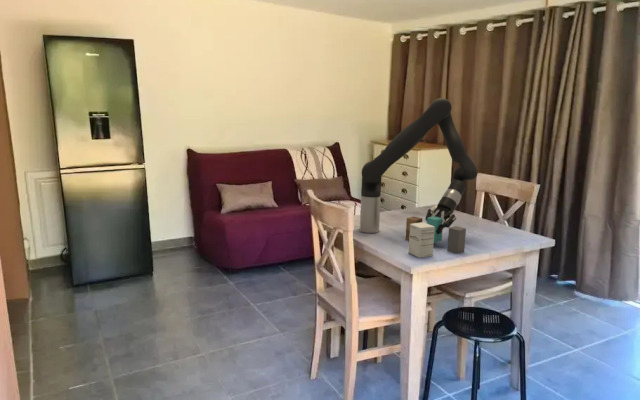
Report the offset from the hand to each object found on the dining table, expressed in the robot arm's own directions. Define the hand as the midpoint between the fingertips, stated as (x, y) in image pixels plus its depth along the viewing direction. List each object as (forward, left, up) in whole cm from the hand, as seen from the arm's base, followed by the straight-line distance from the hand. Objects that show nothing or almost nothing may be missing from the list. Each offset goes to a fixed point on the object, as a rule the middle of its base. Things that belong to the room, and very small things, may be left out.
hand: (431, 231), depth 214 cm
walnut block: (-6, +9, -6) cm, 13 cm away
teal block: (+1, +1, -4) cm, 5 cm away
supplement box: (-6, -12, -7) cm, 16 cm away
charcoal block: (+9, -7, -6) cm, 13 cm away
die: (+11, +47, -7) cm, 49 cm away
